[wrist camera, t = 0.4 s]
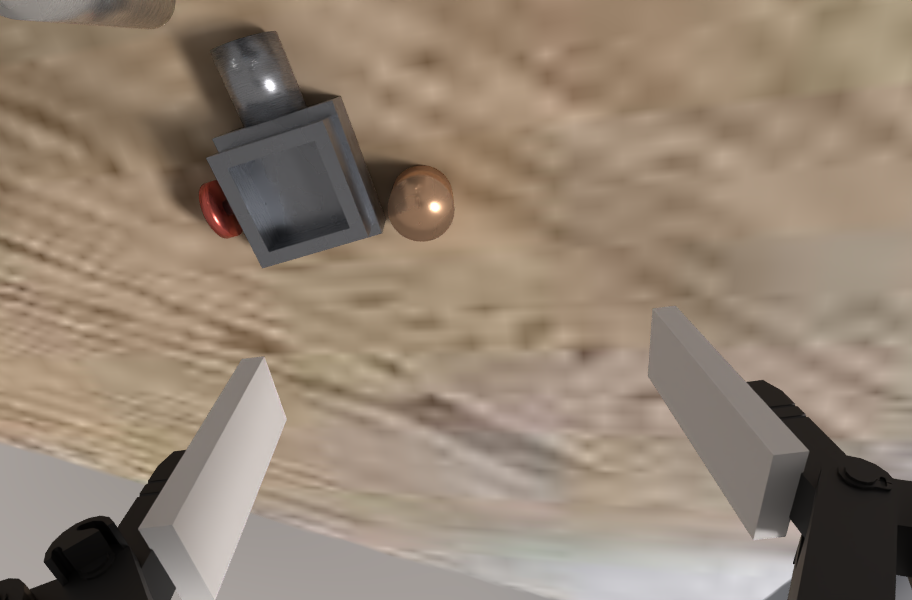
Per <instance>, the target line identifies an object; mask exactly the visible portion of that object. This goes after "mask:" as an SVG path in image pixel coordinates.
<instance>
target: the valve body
mask: <svg viewBox="0 0 912 600" xmlns="http://www.w3.org/2000/svg"><path fill="white" fill-rule="evenodd" d="M209 52H210V54H211V57H212V59H213V61H214V63H215V65H216V67H217V70H218V72H219V74H220V76H221V78H222V80H223V82H224V85H225V87H226V89H227V91H228V93H229V95H230V98H231V100H232V102H233V104H234V106H235V108H236V111H237V113H238V115H239V117H240V119H241V121H242V123H243V126H244V127H243V128H240V129H237V130H234V131H231V132H228V133H226V134H223V135H221V136H218V137H215V138H213V139H212V140H213V142H214V144H215V146H216V148H217V150H218V153H216V154H214V155H211V156H209V157H207V158H206V159H207V161H208V163H209V165H210V167H211V169H212V171H213V173H214V175H215V177H216V179H217V180H214V181H211V182H208V183H205V184H203V185H202V186H201V187H200V190H199V201H200V206H201V209H202V212H203V215H204V217H205V219H206V221H207V222H208V224H209V225H210V227H211V228H212V229H213V230H214V232H215V233H217V234H218V235H219V236H221V237H222V238H226V239H227V238H231V237H234V236H238V235H240V234H241V233H242V231H244V233H245V235H246V237H247V239H248V241H249V243H250V245H251V247H252V249H253V251H254V253H255V255H256V257H257V259H258V261H259V263H260V265H261V267H262V268H265V267H268V266H272V265H275V264H279V263H282V262H286V261H289V260H293V259H296V258H299V257H303V256H306V255H310V254H313V253H316V252H320V251H323V250H327V249H330V248H333V247H337V246H340V245H344V244H347V243H351V242H354V241H357V240H361V239H364V238H368V237H371V236H374V235H378V234H381V233H382V232H383V229H384V225H385V222H386V218H385V215H384V212H383V209H382V207H381V204H380V201H379V199H378V196H377V193H376V190H375V188H374V185H373V182H372V180H371V177H370V174H369V171H368V169H367V166H366V163H365V161H364V158H363V155H362V152H361V150H360V147H359V144H358V142H357V139H356V136H355V133H354V131H353V128H352V125H351V123H350V120H349V117H348V114H347V112H346V109H345V106H344V104H343V101H342V98H341V96H339V97H336V98H333V99H330V100H326V101H323V102H320V103H317V104H314V105H311V106H308V107H307V106H306V104H305V101H304V99H303V96H302V94H301V91H300V89H299V86H298V84H297V81H296V79H295V76H294V74H293V71H292V69H291V66H290V64H289V61H288V59H287V56H286V54H285V51H284V49H283V46H282V44H281V41H280V39H279V36H278V34H277V32H276V31H270V32H264V33H259V34H255V35H251V36H247V37H244V38H240V39H237V40H234V41H231V42H228V43H225V44H223V45H220V46H218V47H216V48H214V49H212V50H210V51H209Z"/></svg>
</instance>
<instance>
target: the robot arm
mask: <svg viewBox="0 0 912 600" xmlns="http://www.w3.org/2000/svg"><path fill="white" fill-rule="evenodd" d="M648 377H649V378H650V380H651V382H652V383H653V385H654V386H655V388H656V389H657V391H658V392H659V394H660V396H661V397H662V399H663V400H664V402H665V403H666V405H667V406H668V408H669V410H670V411H671V413H672V414H673V416H674V417H675V419H676V420H677V422H678V424H679V425H680V427H681V428H682V430H683V431H684V433H685V434H686V436H687V438H688V439H689V441H690V442H691V444H692V445H693V447H694V448H695V450H696V452H697V453H698V455H699V456H700V458H701V459H702V461H703V462H704V464H705V466H706V467H707V469H708V470H709V472H710V473H711V475H712V476H713V478H714V480H715V481H716V483H717V484H718V486H719V487H720V489H721V490H722V492H723V494H724V495H725V497H726V498H727V500H728V501H729V503H730V504H731V506H732V508H733V509H734V511H735V512H736V514H737V515H738V517H739V518H740V520H741V522H742V523H743V525H744V526H745V528H746V529H747V531H748V533H749V534H750V536H751V537H752V539H753V540H759V539H768V538H777V537H785V536H786V533H787V530H788V526H789V522H790V519H791V520H792V522H793V523H794V524H795V526H796V527H797V528H798V530H799V531H800V532H801V534H802V535H801V538H800V541H799V545H798V548H797V551H796V555H795V558H794V561H793V564H795V565H794V570H793V575H792V580H791V585H790V590H789V594H788V599H787V600H895V588H896V575H900V576H906V577H908V579H909V582H910V585H911V588H912V481H906V480H898V479H893V478H892V477H891V476H890V475H889V474H888V473H887V472H886V471H885V470H883V469H882V468H880V467H879V466H877V465H876V464H873V463H871V462H868V461H866V460H864V459H861V458H857V457H852V456H847V455H846V454H845V453H844V452H843V451H842V450H841V449H840V448H839V447H838V446H837V445H836V444H835V443H834V442H833V441H832V440H831V439H830V438H829V437H828V436H827V435H826V434H825V433H824V432H823V431H822V430H821V429H820V428H819V427H818V426H817V425H816V424H815V423H814V422H813V421H812V420H811V419H810V418H809V417H806V414H805V413H804V412H803V411H802V410H801V409H800V408H799V407H798V406H795V403H794V402H793V401H792V400H791V399H790V398H789V397H788V396H787V395H786V394H785V393H784V392H783V391H782V390H780V389H778V388H776V387H774V386H773V385H771V384H769V383H767V382H765V381H764V380H759V381H751V382H745V380H744V379H743V378H742V377H741V376H740V375H739V374H738V373H737V372H736V371H735V370H734V369H733V367H732V366H731V365H730V364H729V363H728V362H727V361H726V360H725V359H724V358H723V357H722V356H721V354H720V353H719V352H718V351H717V350H716V349H715V348H714V347H713V346H712V345H711V344H710V342H709V341H708V340H707V339H706V338H705V337H704V336H703V335H702V334H701V333H700V332H699V331H698V329H697V328H696V327H695V326H694V325H693V324H692V323H691V322H690V321H689V320H688V319H687V318H686V316H685V315H684V314H683V313H682V312H681V311H680V310H679V309H678V308H677V307H676V306H669V307H661V308H653V310H652V324H651V338H650V352H649V366H648ZM286 420H287V419H286V416H285V413H284V410H283V407H282V405H281V402H280V399H279V396H278V393H277V391H276V388H275V385H274V382H273V379H272V377H271V374H270V371H269V368H268V365H267V363H266V360H265V357H264V356H263V357H254V358H246V359H242V360H241V361H240V363H239V365H238V366H237V368H236V370H235V371H234V373H233V375H232V376H231V378H230V379H229V381H228V383H227V384H226V386H225V388H224V389H223V391H222V393H221V394H220V396H219V397H218V399H217V401H216V402H215V404H214V406H213V407H212V409H211V410H210V412H209V414H208V415H207V417H206V419H205V420H204V422H203V424H202V425H201V427H200V428H199V430H198V432H197V433H196V435H195V437H194V438H193V440H192V442H191V443H190V445H189V446H188V448H187V450H182V451H174V452H173V453H172V454H171V455H169V456H168V457H167V458H166V459H165V460H164V461H163V462H162V463H161V464H159V465H158V467H157V468H156V470H155V471H154V473H153V474H152V476H151V477H150V479H149V480H148V484H146V485H145V486H144V488H143V489H142V491H141V493H140V497H137V499H136V500H135V502H134V503H133V505H132V506H131V508H130V509H129V511H128V512H127V514H126V515H125V517H124V518H123V520H122V521H121V523H120V524H119V526H118V528H117V526H116V525H115V523H114V522H113V521H112V520H111V519H110V517H105V516H97V517H92V518H88V519H86V520H83V521H81V522H79V523H77V524H75V525H73V526H72V527H70V528H69V529H68V530H66V531H64V532H63V533H62V534H61V535H60V536H59V537H58V538H57V539H56V540H55V541H54V542H52V544H51V545H50V547H49V548H48V550H47V552H46V553H45V558H44V563H45V564H46V566H47V567H48V568H49V570H50V571H51V572H52V573H53V575H54V576H55V577H56V578H57V579H56V580H53V581H51V582H48V583H45V584H43V585H40V586H37V587H35V588H32V589H29V588H28V587H27V586H26V585H25V584H24V583H23V582H22V581H21V580H20V579H11V578H10V579H9V578H8V579H6V580H2V581H0V600H171V598H172V596H173V593H174V591H175V590H176V591H177V593H178V595H179V596H180V598H181V600H215V599H216V597H217V594H218V592H219V589H220V587H221V584H222V582H223V579H224V577H225V574H226V572H227V569H228V567H229V564H230V562H231V559H232V556H233V554H234V551H235V549H236V546H237V544H238V541H239V539H240V536H241V534H242V531H243V529H244V526H245V524H246V521H247V518H248V516H249V513H250V511H251V508H252V506H253V503H254V501H255V498H256V496H257V493H258V491H259V488H260V486H261V483H262V480H263V478H264V475H265V473H266V470H267V468H268V465H269V463H270V460H271V458H272V455H273V453H274V450H275V448H276V445H277V442H278V440H279V437H280V435H281V432H282V430H283V427H284V425H285V422H286Z"/></svg>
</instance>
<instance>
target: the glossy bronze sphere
mask: <svg viewBox="0 0 912 600" xmlns="http://www.w3.org/2000/svg"><path fill="white" fill-rule="evenodd" d="M388 216H389V219H390V221H391V224H392V225H393V227H394V228H395V229H396V230H397V231H398V232H399V233H400V234H401V235H402V236H404V237H406V238H408V239H410V240H414V241H429V240H433V239H436V238H437V237H439V236H441V235H442V234H443V233H444V232H446V230H447V229H448V228H449V226H450V225H451V223H452V220H453V217H454V201H453V192H452V187H451V185H450V182H449V181H448V179H447V178H446V176H445V175H444V174H443V173H442V172H440V171H439V170H437V169H435V168H433V167H430V166H425V165H418V166H413V167H410V168H408V169H406V170H405V171H403V172H402V173H401V174H400V175H399V176H398V177H397V179H396V181H395V183H394V185H393V188H392V191H391V194H390V198H389V201H388Z"/></svg>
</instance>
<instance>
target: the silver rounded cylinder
mask: <svg viewBox="0 0 912 600" xmlns="http://www.w3.org/2000/svg"><path fill="white" fill-rule="evenodd" d="M174 8H175V0H0V15H1V16H4V17H7V18H10V19H16V20H28V21H42V22H56V23H70V24H84V25H98V26H112V27H126V28H140V29H155V28H159V27H161V26H163V25H164V24H166V23H167V22H168V21H169V19H170V18H171V16H172V14H173V12H174Z"/></svg>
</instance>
